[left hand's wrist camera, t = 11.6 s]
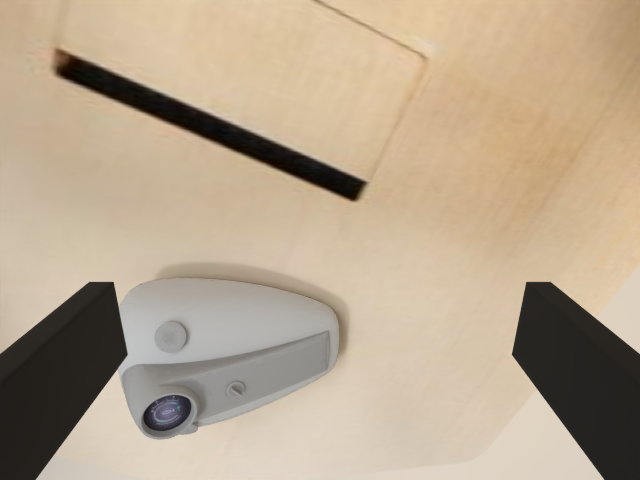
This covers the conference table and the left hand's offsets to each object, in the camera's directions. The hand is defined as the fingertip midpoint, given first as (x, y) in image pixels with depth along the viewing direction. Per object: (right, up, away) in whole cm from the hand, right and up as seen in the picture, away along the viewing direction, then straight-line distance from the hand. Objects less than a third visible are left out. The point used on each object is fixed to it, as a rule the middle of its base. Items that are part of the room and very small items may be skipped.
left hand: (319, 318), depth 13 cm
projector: (-10, -8, +34) cm, 36 cm away
